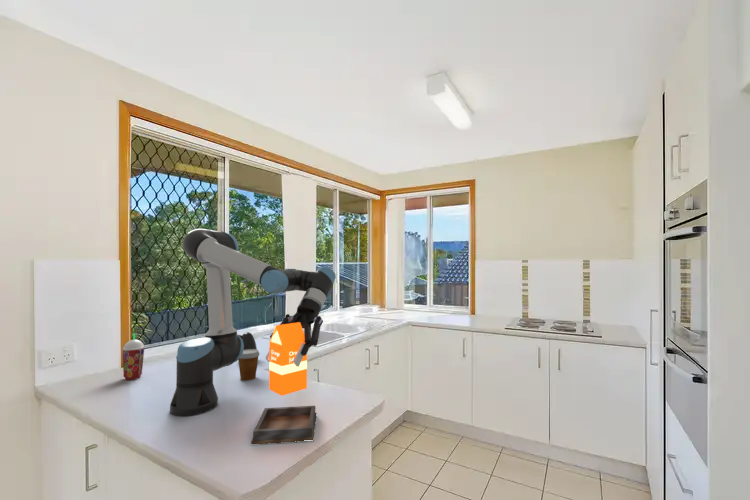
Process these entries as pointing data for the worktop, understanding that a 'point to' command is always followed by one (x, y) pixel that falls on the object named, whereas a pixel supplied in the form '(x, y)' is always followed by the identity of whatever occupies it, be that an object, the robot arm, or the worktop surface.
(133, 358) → the smoothie
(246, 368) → the disposable coffee cup
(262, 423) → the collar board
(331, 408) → the worktop surface
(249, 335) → the pump dispenser
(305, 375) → the orange juice
